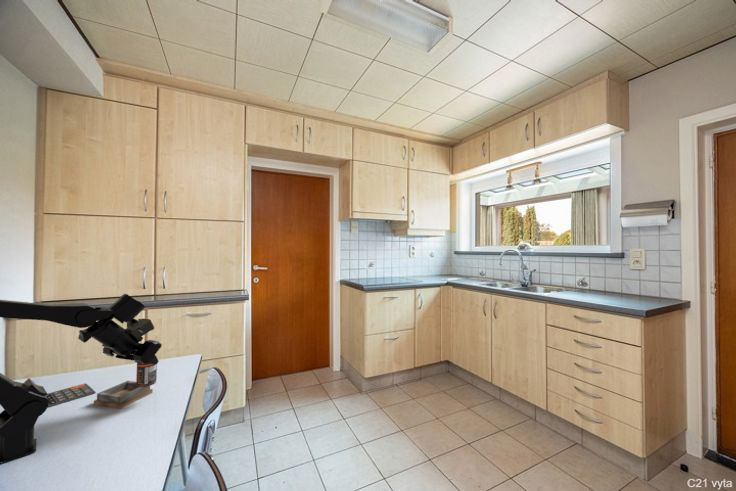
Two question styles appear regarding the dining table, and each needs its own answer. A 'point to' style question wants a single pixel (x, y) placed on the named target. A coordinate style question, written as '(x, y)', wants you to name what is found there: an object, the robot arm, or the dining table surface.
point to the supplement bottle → (146, 374)
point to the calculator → (69, 394)
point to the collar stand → (122, 395)
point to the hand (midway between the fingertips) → (151, 361)
